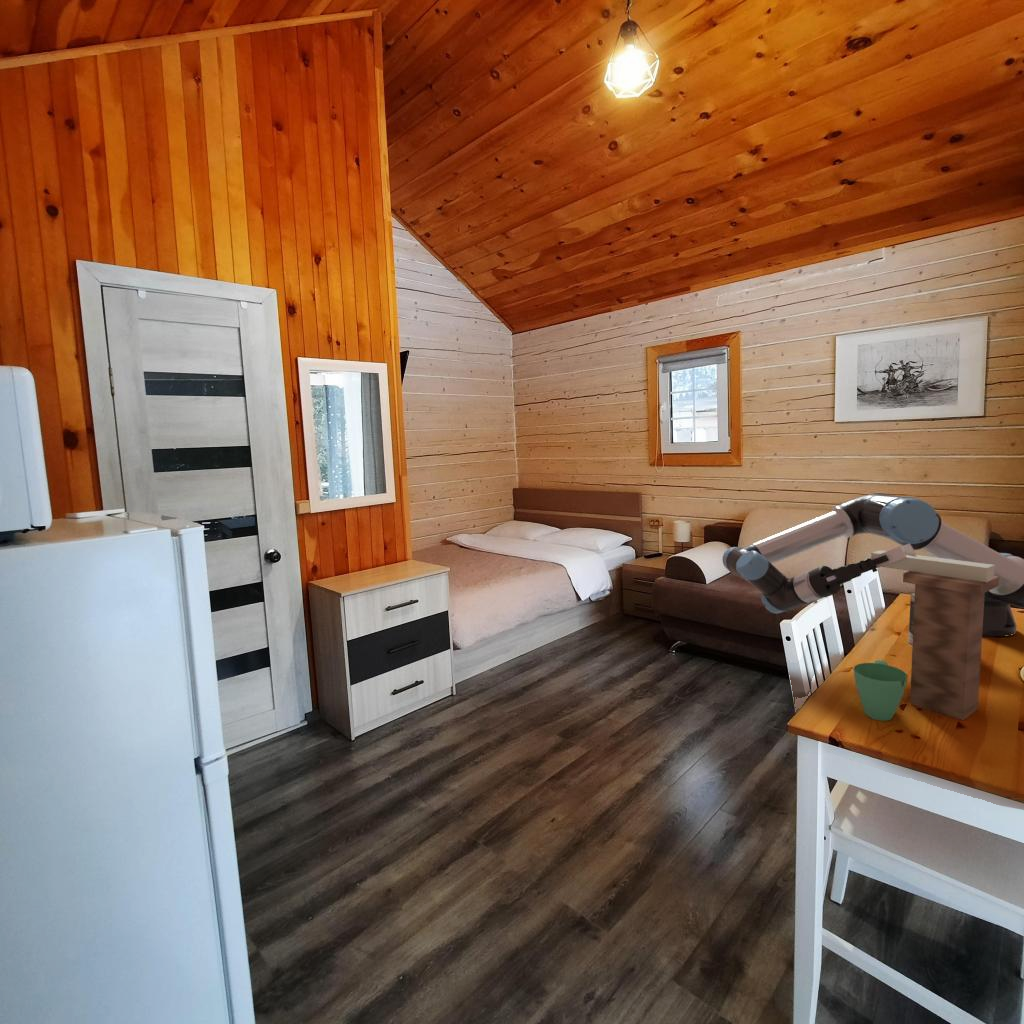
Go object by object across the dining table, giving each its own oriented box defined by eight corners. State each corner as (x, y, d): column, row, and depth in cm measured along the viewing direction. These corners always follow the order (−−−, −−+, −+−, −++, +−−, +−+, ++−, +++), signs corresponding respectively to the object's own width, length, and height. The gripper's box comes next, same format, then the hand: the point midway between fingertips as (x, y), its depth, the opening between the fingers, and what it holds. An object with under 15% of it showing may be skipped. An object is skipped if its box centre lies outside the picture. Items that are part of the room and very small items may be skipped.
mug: (906, 730, 119) (908, 684, 118) (851, 720, 124) (852, 675, 123) (904, 701, 131) (906, 659, 130) (854, 693, 137) (855, 652, 135)
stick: (870, 565, 136) (871, 552, 135) (879, 562, 138) (879, 550, 138) (986, 582, 118) (987, 567, 117) (993, 578, 120) (994, 564, 119)
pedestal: (898, 701, 131) (903, 573, 127) (917, 689, 137) (923, 565, 133) (972, 725, 120) (981, 585, 116) (990, 710, 125) (999, 576, 121)
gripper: (841, 591, 153) (932, 559, 134) (806, 604, 143) (899, 572, 125) (827, 565, 155) (915, 530, 137) (792, 576, 145) (881, 540, 127)
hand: (907, 550), depth 131 cm, fingers closed on stick, 4 cm apart
